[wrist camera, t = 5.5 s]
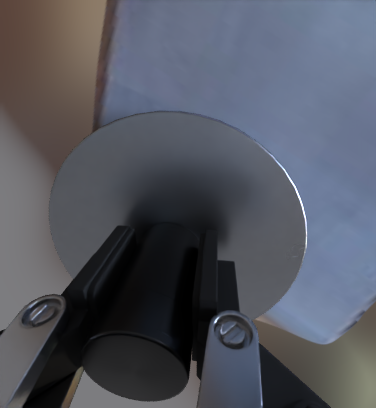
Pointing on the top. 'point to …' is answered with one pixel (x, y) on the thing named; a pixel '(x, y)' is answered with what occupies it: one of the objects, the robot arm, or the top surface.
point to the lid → (172, 236)
